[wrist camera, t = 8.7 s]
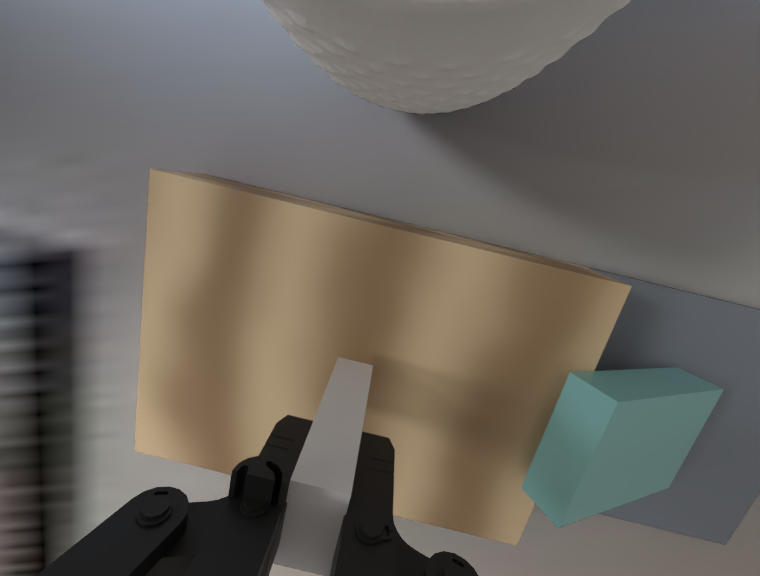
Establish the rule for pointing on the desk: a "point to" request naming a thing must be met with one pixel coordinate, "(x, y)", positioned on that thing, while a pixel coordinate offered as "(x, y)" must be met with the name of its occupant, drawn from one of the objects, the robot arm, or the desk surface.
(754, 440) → the mat
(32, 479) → the desk surface
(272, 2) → the mug
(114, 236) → the desk surface
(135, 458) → the desk surface
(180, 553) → the robot arm
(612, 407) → the teal rectangular block
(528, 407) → the board
